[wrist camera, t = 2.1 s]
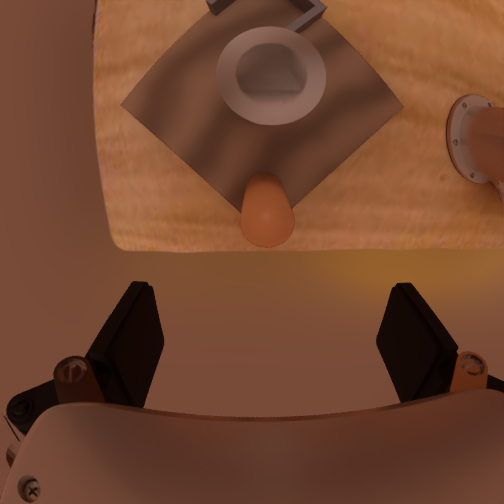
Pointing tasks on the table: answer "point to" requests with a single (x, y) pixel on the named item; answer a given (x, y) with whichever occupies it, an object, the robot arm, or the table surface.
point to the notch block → (307, 3)
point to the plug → (266, 212)
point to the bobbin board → (242, 142)
